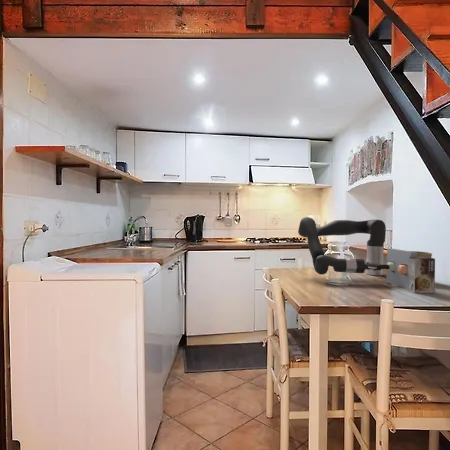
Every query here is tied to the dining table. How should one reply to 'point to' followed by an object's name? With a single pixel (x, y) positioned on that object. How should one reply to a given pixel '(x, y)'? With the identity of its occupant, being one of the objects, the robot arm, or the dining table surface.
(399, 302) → the dining table surface
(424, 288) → the coffee box
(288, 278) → the dining table surface
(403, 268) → the terracotta button
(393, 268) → the sage-green button
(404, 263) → the button panel
